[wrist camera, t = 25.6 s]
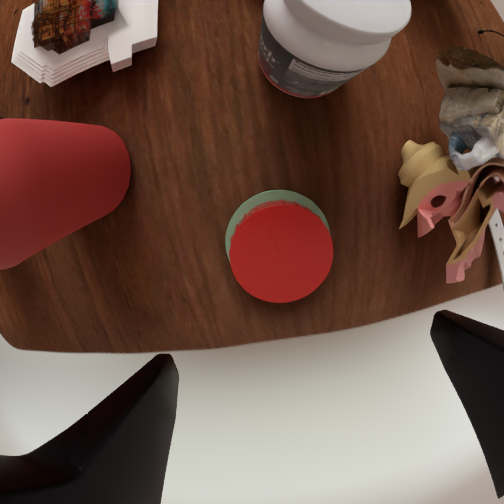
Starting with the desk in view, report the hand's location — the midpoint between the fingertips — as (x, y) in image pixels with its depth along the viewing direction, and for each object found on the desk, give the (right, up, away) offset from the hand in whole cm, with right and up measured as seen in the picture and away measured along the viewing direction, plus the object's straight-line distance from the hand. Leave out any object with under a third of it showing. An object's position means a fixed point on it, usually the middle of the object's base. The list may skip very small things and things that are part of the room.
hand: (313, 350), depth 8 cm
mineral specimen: (-13, +20, +5) cm, 25 cm away
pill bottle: (+1, +15, +6) cm, 17 cm away
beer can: (-13, +9, +9) cm, 18 cm away
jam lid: (0, +3, +9) cm, 9 cm away
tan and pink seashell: (+12, +8, +9) cm, 17 cm away
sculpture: (+12, +12, +1) cm, 17 cm away
